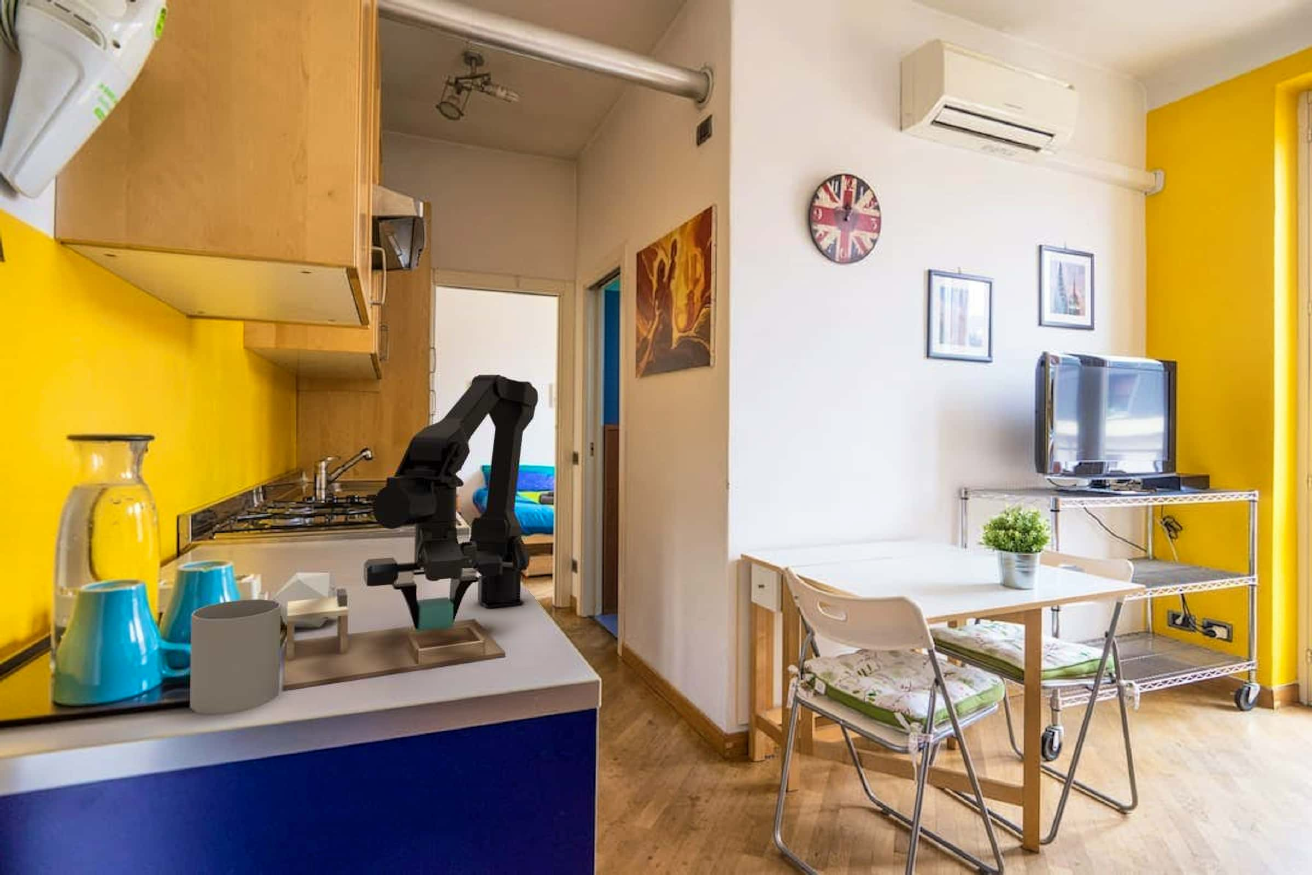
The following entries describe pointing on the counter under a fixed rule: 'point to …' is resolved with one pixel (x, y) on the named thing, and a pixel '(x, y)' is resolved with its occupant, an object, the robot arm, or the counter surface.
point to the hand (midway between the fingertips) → (433, 625)
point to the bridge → (319, 610)
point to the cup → (234, 655)
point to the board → (386, 653)
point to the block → (435, 614)
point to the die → (305, 594)
